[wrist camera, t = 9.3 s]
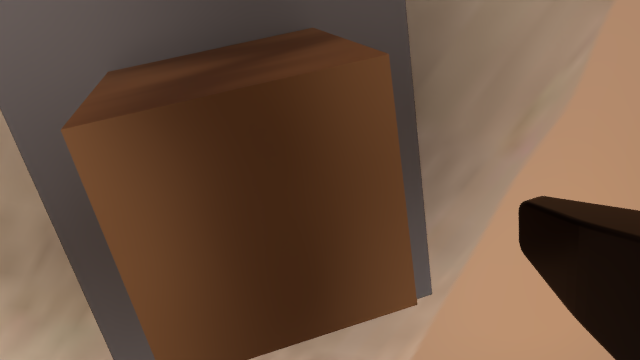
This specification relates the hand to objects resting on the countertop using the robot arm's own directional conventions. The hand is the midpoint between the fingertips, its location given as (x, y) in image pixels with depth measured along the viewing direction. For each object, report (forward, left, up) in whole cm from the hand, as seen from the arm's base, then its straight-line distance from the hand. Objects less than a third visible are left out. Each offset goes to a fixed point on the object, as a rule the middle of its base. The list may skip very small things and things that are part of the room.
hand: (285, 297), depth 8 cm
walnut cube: (0, 0, -8) cm, 8 cm away
